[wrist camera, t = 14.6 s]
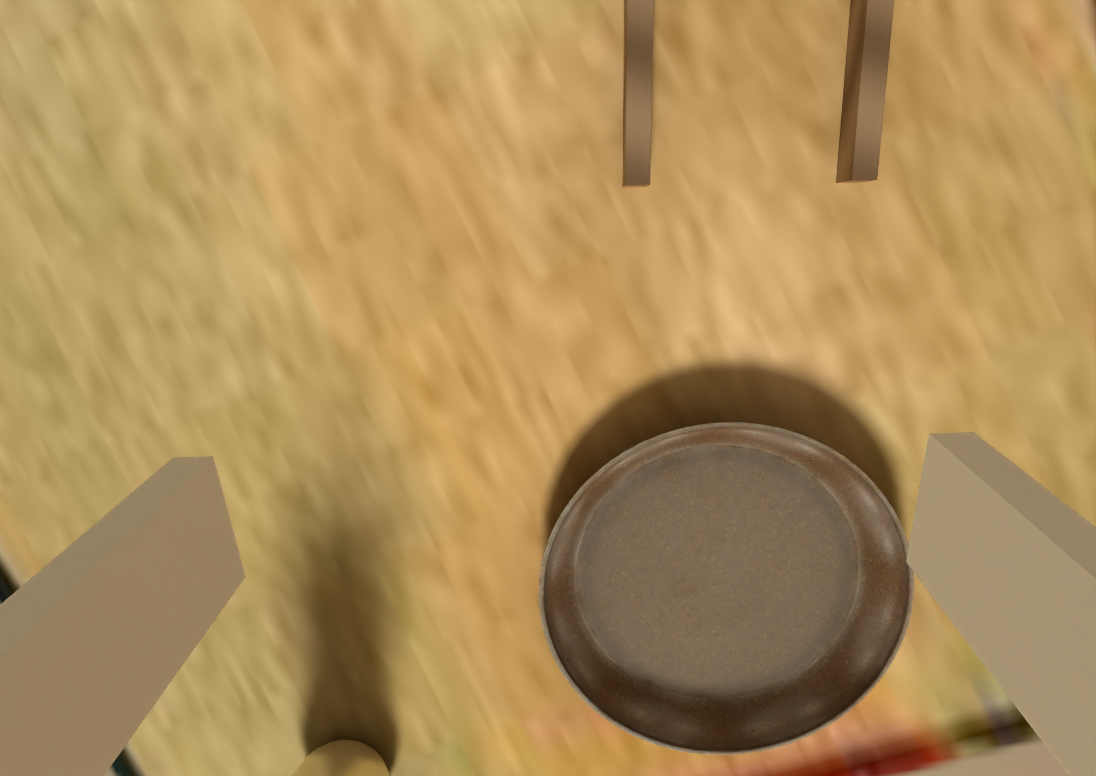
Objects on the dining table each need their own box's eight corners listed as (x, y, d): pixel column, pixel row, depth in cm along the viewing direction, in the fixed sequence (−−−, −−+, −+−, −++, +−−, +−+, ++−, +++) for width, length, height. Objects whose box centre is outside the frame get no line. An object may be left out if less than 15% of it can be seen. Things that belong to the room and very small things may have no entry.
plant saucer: (500, 664, 42) (494, 700, 39) (604, 360, 37) (607, 373, 34) (804, 754, 43) (823, 797, 40) (946, 469, 38) (980, 491, 35)
